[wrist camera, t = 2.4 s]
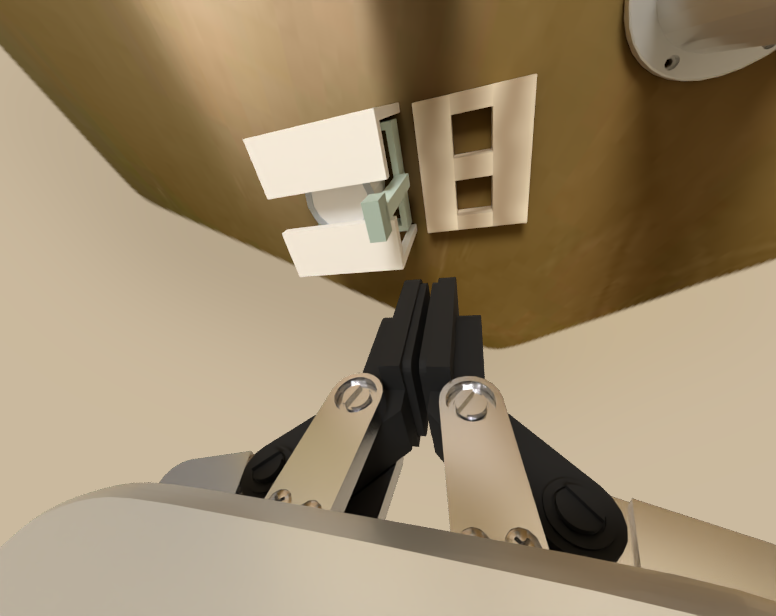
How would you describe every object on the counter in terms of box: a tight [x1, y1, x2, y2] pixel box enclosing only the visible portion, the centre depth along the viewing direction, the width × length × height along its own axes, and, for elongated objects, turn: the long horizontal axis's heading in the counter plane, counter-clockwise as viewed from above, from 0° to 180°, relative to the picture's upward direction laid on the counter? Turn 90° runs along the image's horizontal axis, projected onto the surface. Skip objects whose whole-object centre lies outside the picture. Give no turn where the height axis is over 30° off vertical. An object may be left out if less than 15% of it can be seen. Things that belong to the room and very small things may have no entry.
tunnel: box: [243, 102, 417, 277], centre depth 29 cm, size 11×13×10 cm
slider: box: [317, 118, 412, 243], centre depth 27 cm, size 11×10×14 cm
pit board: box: [412, 74, 537, 233], centre depth 29 cm, size 10×12×2 cm
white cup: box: [305, 180, 385, 225], centre depth 30 cm, size 7×7×7 cm
